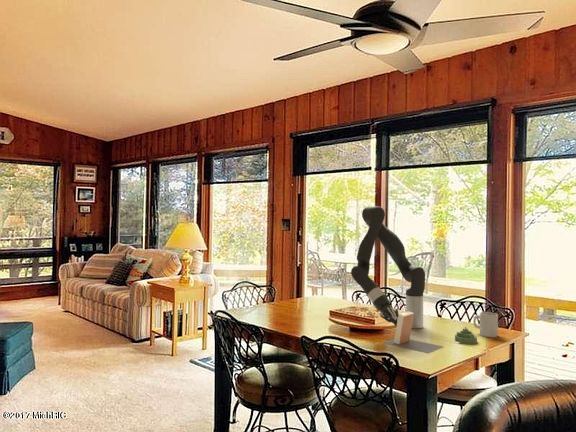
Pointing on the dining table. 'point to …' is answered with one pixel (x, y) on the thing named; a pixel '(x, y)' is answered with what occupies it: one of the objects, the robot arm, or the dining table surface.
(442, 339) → the dining table surface
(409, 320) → the orange white box
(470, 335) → the decorative artifact
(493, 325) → the mug
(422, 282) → the robot arm
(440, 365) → the dining table surface
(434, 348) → the mat
